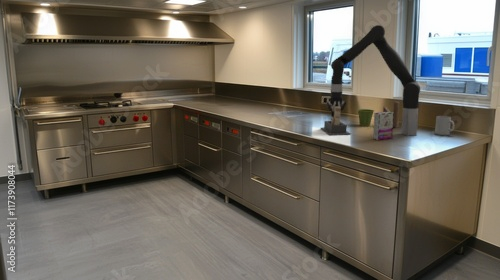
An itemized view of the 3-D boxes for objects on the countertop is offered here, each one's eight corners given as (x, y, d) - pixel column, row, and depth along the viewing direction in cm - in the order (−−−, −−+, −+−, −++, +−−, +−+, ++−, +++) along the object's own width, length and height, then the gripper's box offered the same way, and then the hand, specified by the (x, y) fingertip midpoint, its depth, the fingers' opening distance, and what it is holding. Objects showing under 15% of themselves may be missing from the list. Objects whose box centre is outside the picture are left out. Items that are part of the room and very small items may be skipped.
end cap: (350, 134, 256) (350, 125, 255) (329, 135, 255) (329, 126, 254) (340, 128, 278) (340, 119, 277) (320, 128, 277) (320, 120, 275)
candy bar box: (386, 137, 248) (388, 111, 245) (392, 138, 244) (394, 112, 240) (372, 138, 244) (374, 112, 240) (378, 140, 240) (379, 113, 236)
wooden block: (384, 125, 287) (386, 100, 283) (398, 127, 279) (400, 101, 275) (382, 126, 284) (383, 101, 280) (396, 128, 277) (398, 102, 273)
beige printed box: (339, 128, 261) (340, 107, 257) (335, 128, 261) (336, 107, 257) (335, 125, 271) (336, 104, 267) (330, 125, 270) (331, 104, 267)
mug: (431, 133, 258) (433, 116, 255) (440, 131, 262) (441, 115, 260) (449, 136, 248) (450, 119, 245) (457, 135, 252) (459, 118, 249)
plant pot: (373, 127, 280) (374, 111, 278) (356, 126, 284) (356, 111, 281) (373, 124, 291) (374, 109, 289) (356, 123, 295) (357, 108, 292)
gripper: (327, 91, 256) (326, 118, 260) (348, 91, 258) (347, 117, 261) (324, 90, 264) (323, 116, 267) (345, 90, 265) (343, 115, 269)
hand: (335, 116), depth 264 cm, fingers closed on beige printed box, 3 cm apart
